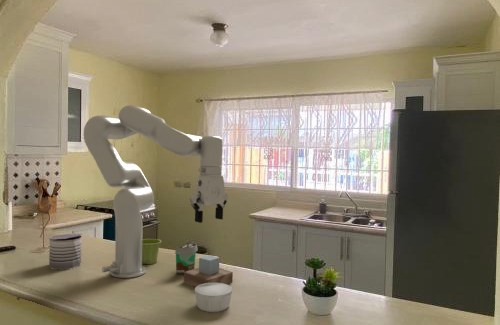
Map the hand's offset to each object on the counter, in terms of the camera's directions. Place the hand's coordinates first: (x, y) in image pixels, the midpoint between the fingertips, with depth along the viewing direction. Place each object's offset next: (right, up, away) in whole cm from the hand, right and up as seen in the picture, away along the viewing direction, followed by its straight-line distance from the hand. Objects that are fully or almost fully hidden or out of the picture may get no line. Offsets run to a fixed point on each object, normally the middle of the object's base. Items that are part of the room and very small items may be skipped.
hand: (209, 220), depth 131 cm
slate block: (0, -18, 0) cm, 18 cm away
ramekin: (+3, -23, -20) cm, 30 cm away
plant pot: (-27, -21, +22) cm, 40 cm away
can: (-58, -20, +15) cm, 63 cm away
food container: (-9, -21, +12) cm, 26 cm away
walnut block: (0, -22, 0) cm, 22 cm away
